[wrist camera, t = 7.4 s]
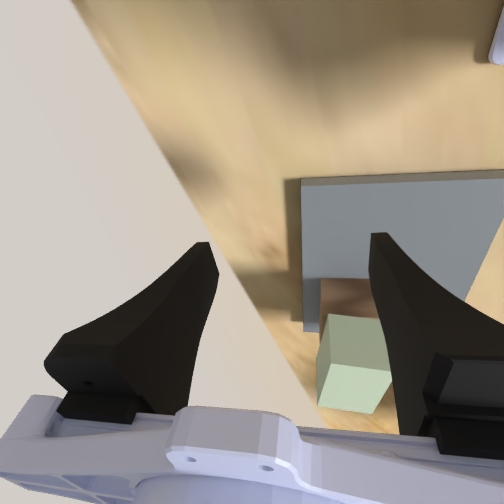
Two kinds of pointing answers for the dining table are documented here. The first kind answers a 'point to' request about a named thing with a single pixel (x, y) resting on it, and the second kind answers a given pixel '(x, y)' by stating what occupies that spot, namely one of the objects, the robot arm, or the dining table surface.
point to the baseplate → (398, 226)
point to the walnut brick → (345, 299)
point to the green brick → (352, 364)
